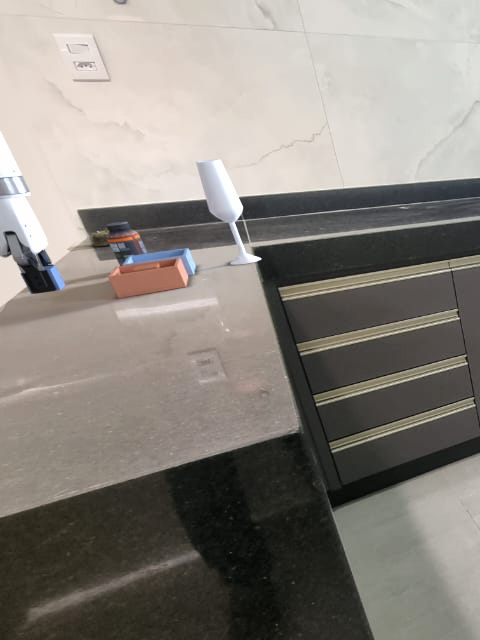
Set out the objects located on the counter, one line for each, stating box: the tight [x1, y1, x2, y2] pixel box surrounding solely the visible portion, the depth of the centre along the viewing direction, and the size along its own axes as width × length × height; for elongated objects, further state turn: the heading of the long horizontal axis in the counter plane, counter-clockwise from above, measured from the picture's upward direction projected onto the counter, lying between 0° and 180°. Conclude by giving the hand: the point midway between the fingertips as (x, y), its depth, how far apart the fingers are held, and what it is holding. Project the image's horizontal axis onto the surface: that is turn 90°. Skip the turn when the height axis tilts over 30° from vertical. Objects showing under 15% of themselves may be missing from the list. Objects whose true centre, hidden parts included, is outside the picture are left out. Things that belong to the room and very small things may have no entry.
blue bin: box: [123, 247, 196, 277], centre depth 124 cm, size 11×10×5 cm
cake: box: [91, 226, 110, 247], centre depth 161 cm, size 10×10×5 cm
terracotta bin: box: [107, 258, 189, 299], centre depth 115 cm, size 11×10×5 cm
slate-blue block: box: [19, 264, 66, 295], centre depth 99 cm, size 4×4×4 cm
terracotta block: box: [133, 263, 161, 272], centre depth 114 cm, size 4×4×4 cm
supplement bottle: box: [105, 221, 149, 266], centre depth 128 cm, size 6×6×11 cm
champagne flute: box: [195, 159, 262, 266], centre depth 129 cm, size 7×7×24 cm
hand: (47, 288), depth 100 cm, fingers closed on slate-blue block, 4 cm apart
